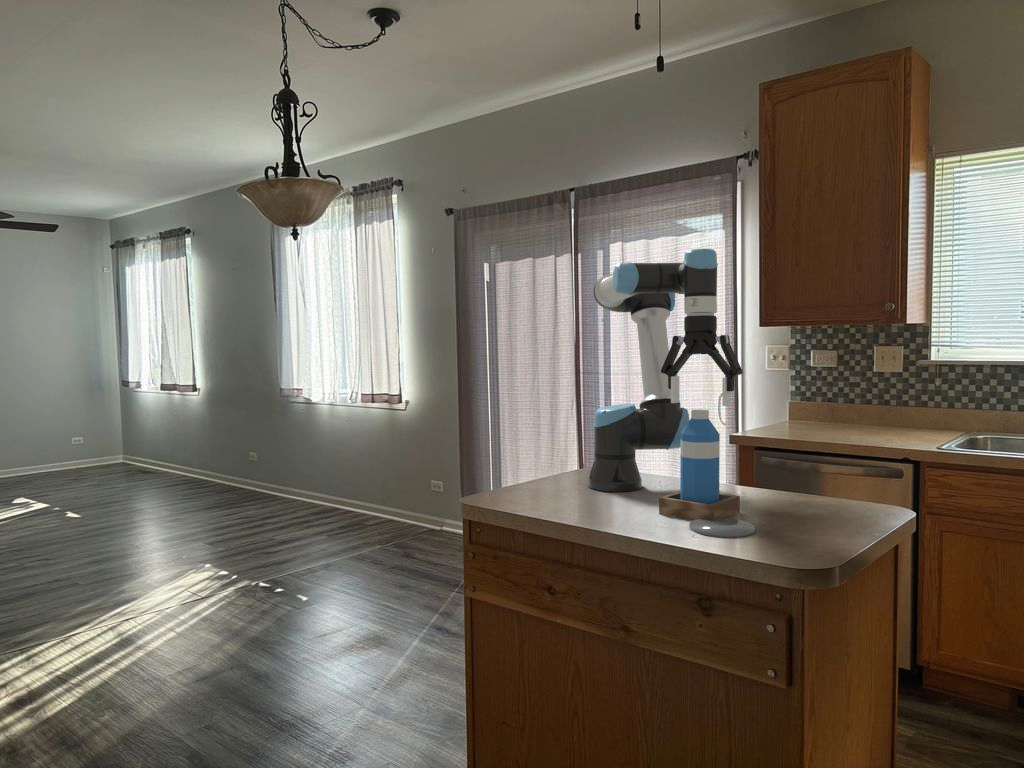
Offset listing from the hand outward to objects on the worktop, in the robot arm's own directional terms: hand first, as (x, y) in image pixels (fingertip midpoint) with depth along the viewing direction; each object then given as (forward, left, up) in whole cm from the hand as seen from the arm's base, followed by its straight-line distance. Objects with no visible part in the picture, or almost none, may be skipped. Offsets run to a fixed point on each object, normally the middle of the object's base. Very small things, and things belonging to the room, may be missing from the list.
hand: (700, 404), depth 175 cm
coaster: (+11, -10, -26) cm, 30 cm away
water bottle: (0, 0, -27) cm, 27 cm away
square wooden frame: (0, 0, -26) cm, 26 cm away
